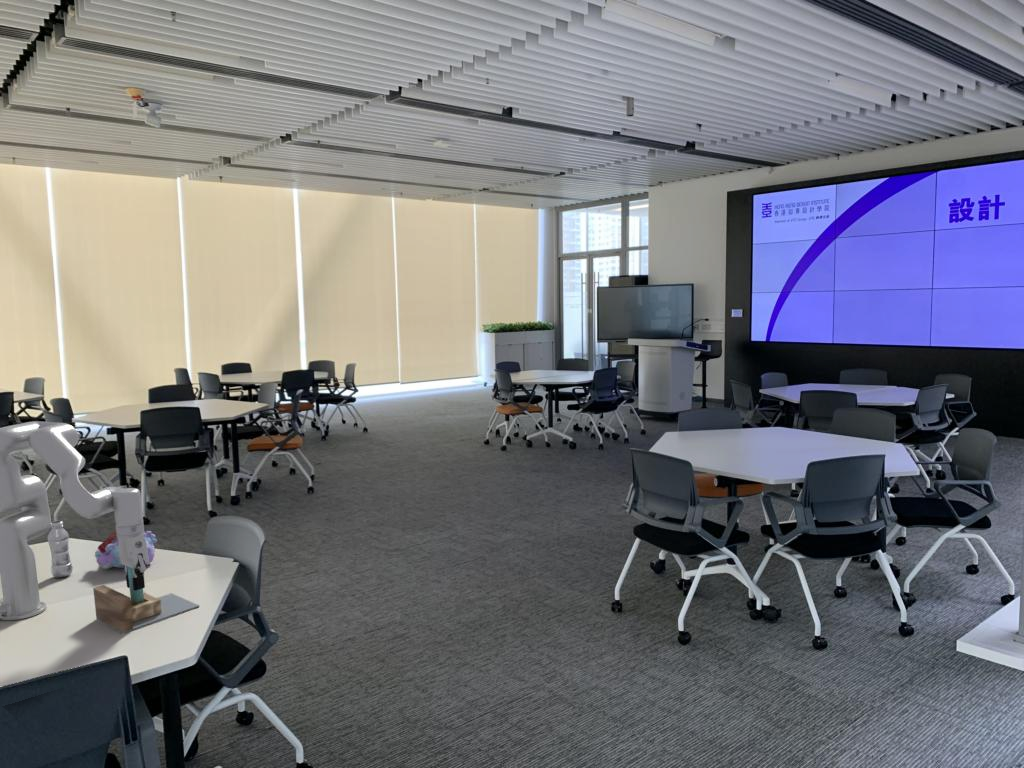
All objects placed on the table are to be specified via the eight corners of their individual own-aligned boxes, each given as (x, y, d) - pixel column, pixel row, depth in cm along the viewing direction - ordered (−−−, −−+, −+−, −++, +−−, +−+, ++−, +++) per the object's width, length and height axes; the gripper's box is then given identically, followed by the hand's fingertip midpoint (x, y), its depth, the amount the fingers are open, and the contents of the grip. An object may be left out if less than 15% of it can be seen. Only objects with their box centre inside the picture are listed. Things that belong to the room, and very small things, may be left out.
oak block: (128, 623, 227) (127, 610, 226) (113, 616, 233) (112, 603, 233) (161, 612, 234) (160, 599, 234) (146, 605, 241) (145, 593, 240)
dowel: (134, 603, 231) (129, 559, 229) (128, 601, 233) (124, 557, 232) (146, 599, 234) (141, 555, 232) (140, 597, 236) (136, 553, 234)
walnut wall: (122, 632, 222) (119, 600, 220) (96, 617, 233) (93, 587, 232) (133, 628, 224) (130, 597, 223) (106, 614, 235) (103, 584, 234)
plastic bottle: (66, 579, 270) (60, 524, 268) (47, 579, 270) (41, 525, 268) (77, 572, 276) (71, 519, 274) (58, 573, 277) (53, 519, 274)
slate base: (122, 633, 222) (122, 632, 222) (96, 619, 233) (96, 617, 233) (199, 606, 240) (199, 605, 240) (171, 594, 251) (171, 593, 251)
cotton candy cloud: (137, 563, 269) (147, 514, 277) (76, 563, 269) (87, 514, 276) (160, 575, 288) (169, 528, 295) (103, 575, 287) (113, 528, 295)
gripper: (155, 530, 229) (161, 589, 231) (130, 522, 239) (136, 578, 241) (129, 537, 223) (136, 597, 225) (105, 528, 233) (111, 586, 235)
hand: (135, 587), depth 233 cm, fingers closed on dowel, 3 cm apart
